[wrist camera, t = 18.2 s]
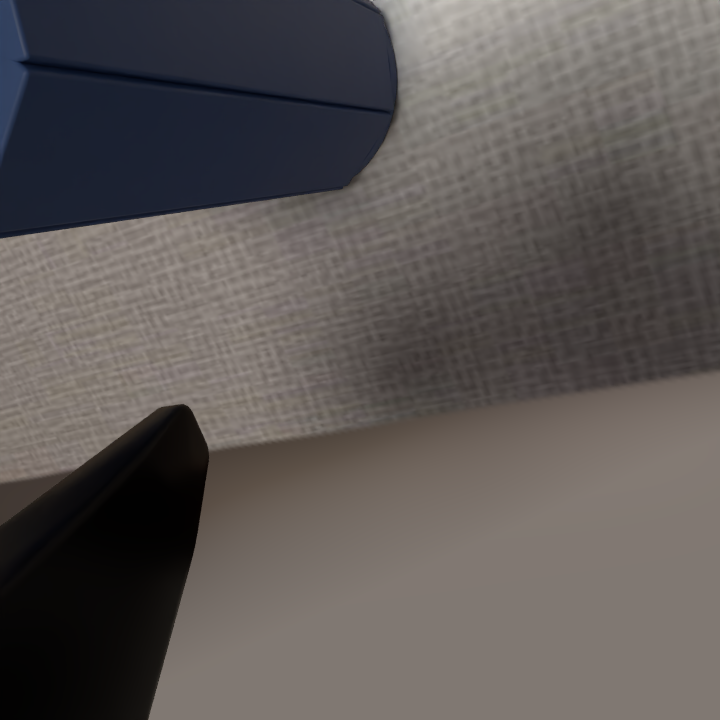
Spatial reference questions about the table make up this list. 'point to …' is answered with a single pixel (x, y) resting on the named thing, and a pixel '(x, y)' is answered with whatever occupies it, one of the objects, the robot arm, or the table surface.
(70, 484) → the robot arm
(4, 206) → the measuring cup
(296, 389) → the table surface
